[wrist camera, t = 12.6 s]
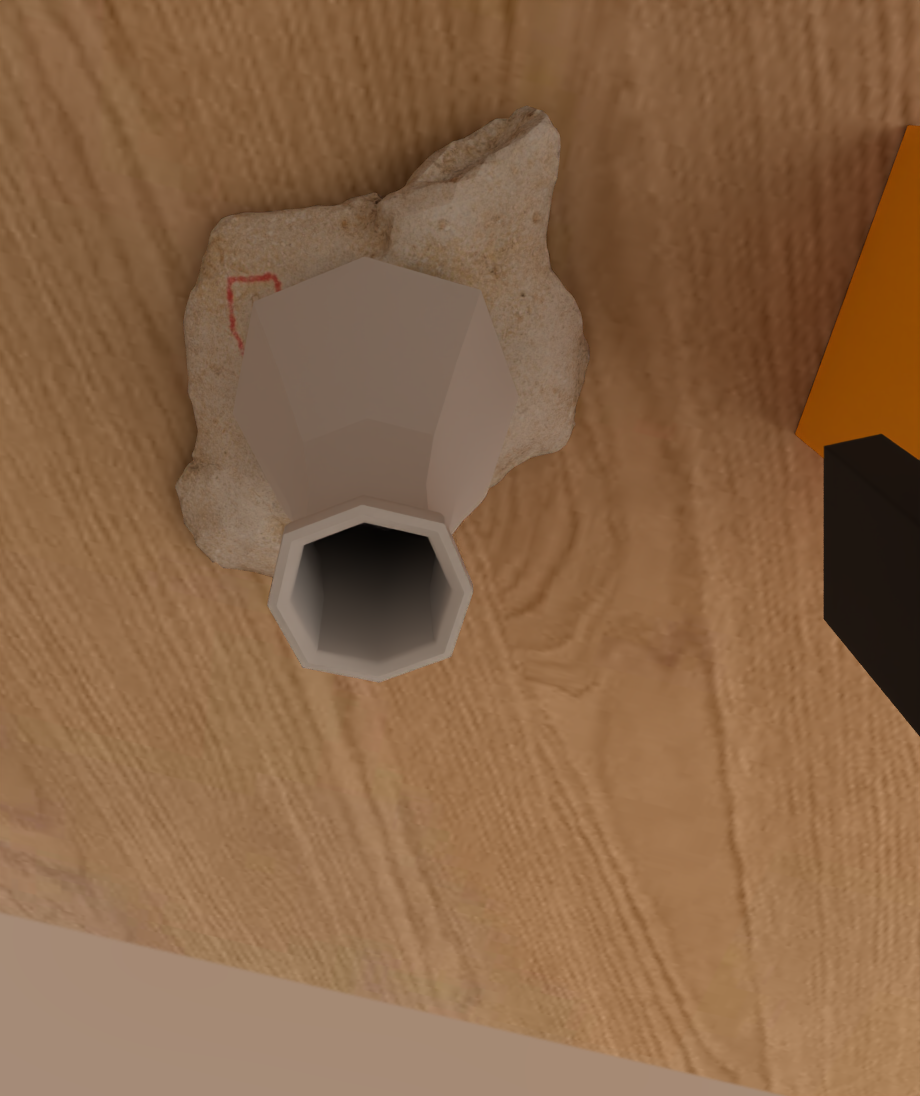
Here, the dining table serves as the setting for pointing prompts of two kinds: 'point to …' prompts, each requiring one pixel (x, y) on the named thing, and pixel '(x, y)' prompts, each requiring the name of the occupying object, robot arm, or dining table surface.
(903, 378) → the orange juice
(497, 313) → the stone
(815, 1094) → the dining table surface
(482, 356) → the flask
